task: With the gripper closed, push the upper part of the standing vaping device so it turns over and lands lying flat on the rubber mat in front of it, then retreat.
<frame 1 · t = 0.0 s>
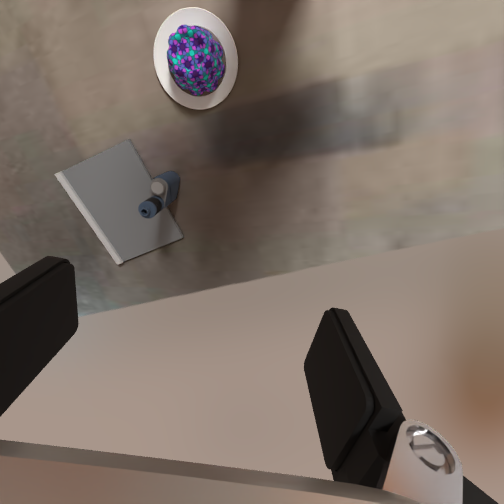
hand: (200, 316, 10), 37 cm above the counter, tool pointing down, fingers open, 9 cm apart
vaping device: (172, 185, 45), on the counter
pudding: (197, 63, 38), on the counter
rubber mat: (127, 205, 46), on the counter
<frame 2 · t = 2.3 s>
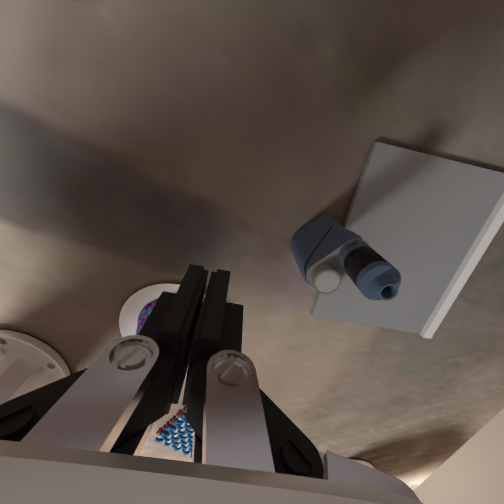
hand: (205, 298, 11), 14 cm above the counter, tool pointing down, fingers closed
vaping device: (313, 232, 25), on the counter
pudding: (176, 324, 30), on the counter
rubber mat: (398, 250, 26), on the counter
woven mat: (207, 423, 37), on the counter
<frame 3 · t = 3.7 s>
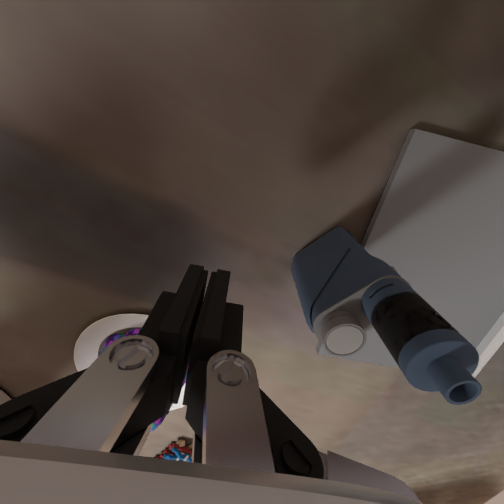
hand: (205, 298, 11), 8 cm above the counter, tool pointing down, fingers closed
vaping device: (321, 251, 19), on the counter
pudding: (147, 359, 24), on the counter
rubber mat: (433, 276, 20), on the counter
woven mat: (191, 467, 31), on the counter
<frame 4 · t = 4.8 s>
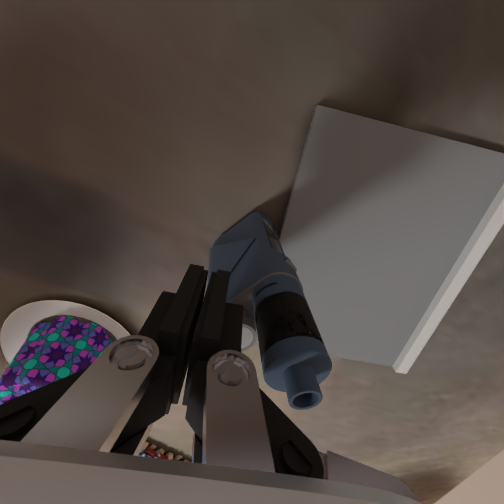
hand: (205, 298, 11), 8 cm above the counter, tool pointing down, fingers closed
vaping device: (242, 236, 19), on the counter, touching gripper
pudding: (80, 348, 23), on the counter
rubber mat: (360, 261, 19), on the counter
woven mat: (141, 460, 31), on the counter
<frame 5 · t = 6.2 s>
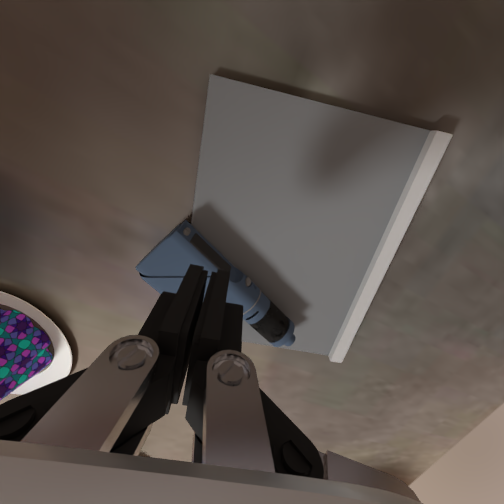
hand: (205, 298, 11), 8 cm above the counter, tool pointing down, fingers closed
vaping device: (156, 241, 17), point 2 cm above the counter, touching rubber mat
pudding: (8, 338, 23), on the counter
rubber mat: (281, 244, 19), on the counter
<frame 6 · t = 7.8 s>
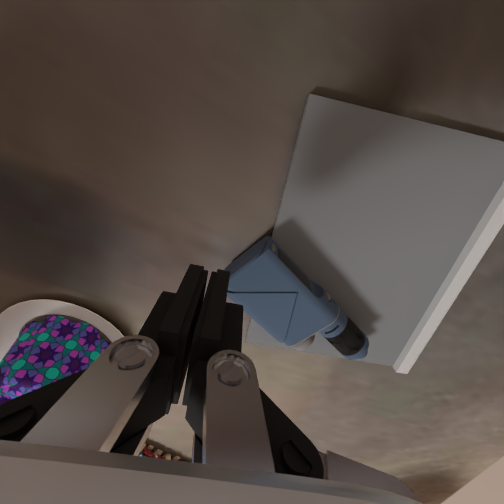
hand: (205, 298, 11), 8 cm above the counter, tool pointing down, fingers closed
vaping device: (240, 257, 17), point 2 cm above the counter, touching rubber mat
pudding: (73, 348, 23), on the counter
rubber mat: (357, 257, 19), on the counter
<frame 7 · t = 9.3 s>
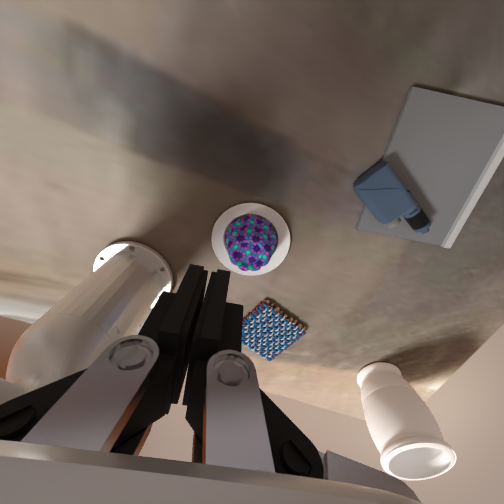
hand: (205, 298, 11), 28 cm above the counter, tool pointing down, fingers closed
vaping device: (368, 172, 33), point 2 cm above the counter, touching rubber mat
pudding: (250, 239, 40), on the counter
rubber mat: (426, 175, 35), on the counter
jar: (377, 375, 52), on the counter
woven mat: (267, 327, 48), on the counter
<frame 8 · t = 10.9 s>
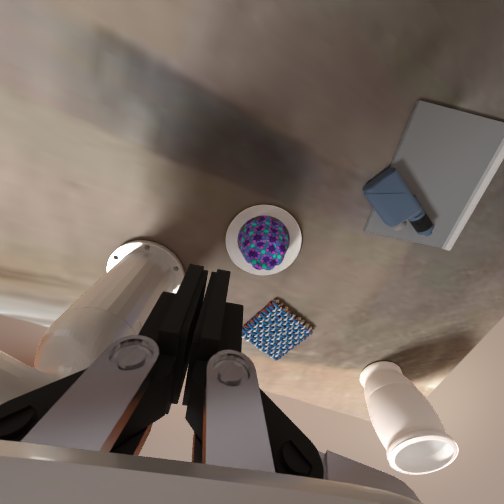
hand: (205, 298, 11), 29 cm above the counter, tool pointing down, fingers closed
vaping device: (377, 177, 35), point 2 cm above the counter, touching rubber mat
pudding: (263, 239, 42), on the counter
rubber mat: (429, 181, 37), on the counter
jar: (379, 374, 54), on the counter
woven mat: (275, 326, 49), on the counter
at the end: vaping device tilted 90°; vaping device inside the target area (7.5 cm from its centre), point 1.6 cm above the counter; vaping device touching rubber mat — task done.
